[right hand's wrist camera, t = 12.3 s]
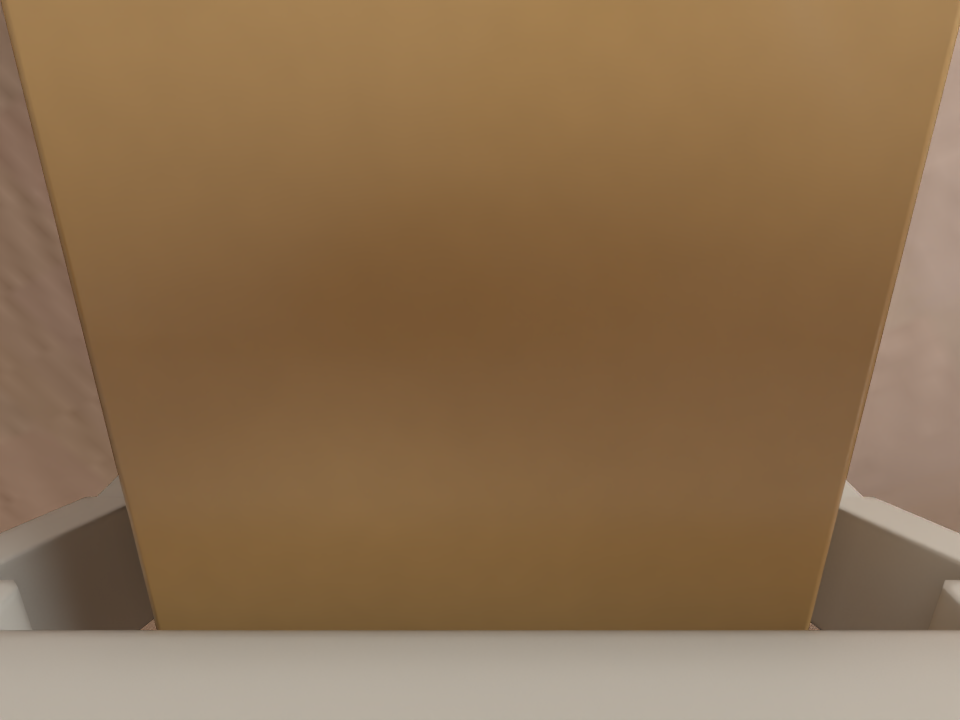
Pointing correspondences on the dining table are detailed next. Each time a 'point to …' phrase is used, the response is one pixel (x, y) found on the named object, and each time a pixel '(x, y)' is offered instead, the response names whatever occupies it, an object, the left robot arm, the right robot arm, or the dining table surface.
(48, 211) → the dining table surface
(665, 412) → the box
